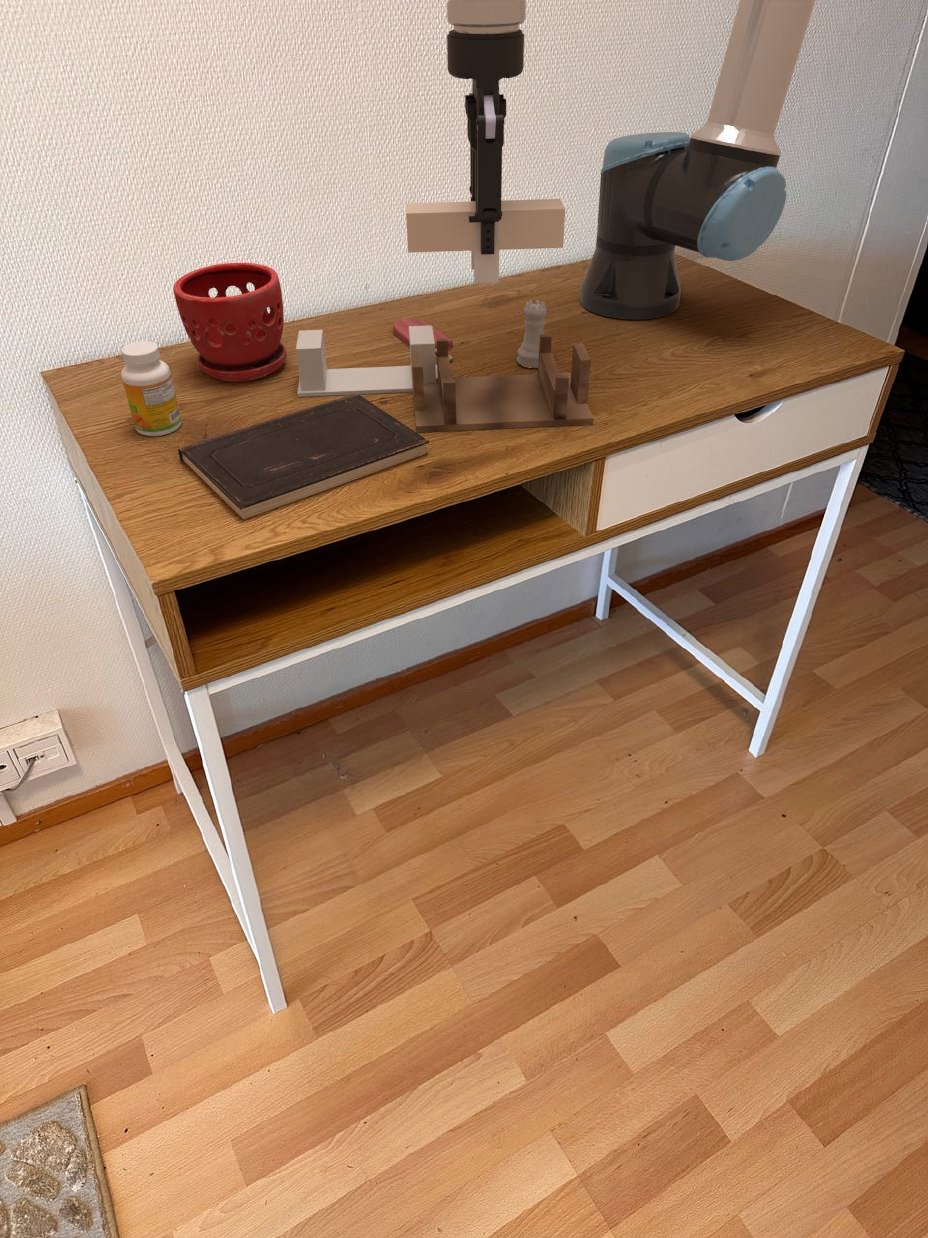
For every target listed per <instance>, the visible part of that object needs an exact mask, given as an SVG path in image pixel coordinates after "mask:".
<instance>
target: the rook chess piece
mask: <svg viewBox="0 0 928 1238" xmlns="http://www.w3.org/2000/svg"><path fill="white" fill-rule="evenodd" d="M522 312H523V314H524V315H525V320H524V322H523V323H524V325H525V326H524V327H525V329H524V335H523V336H524V337H523V340H522V343H521V344H520V347H519V348H518V349H517V352H516V353H517V357H516V361H517V363H518V365H520V364H521V365H523V366H526V367H531V368H538V362H539V342H540V335H545V325H546V324H547V323H546V321H545V316H546V315H547V314H548V312H549V311H548V309H547V307H546V302H545V301H541V300H539V299H536V300H535V303H534V300H528V301H526V302H525V306H524V308H523V309H522ZM521 365H520V366H521Z"/></svg>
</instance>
